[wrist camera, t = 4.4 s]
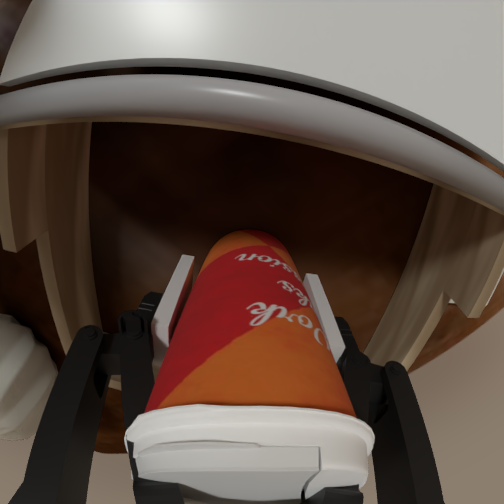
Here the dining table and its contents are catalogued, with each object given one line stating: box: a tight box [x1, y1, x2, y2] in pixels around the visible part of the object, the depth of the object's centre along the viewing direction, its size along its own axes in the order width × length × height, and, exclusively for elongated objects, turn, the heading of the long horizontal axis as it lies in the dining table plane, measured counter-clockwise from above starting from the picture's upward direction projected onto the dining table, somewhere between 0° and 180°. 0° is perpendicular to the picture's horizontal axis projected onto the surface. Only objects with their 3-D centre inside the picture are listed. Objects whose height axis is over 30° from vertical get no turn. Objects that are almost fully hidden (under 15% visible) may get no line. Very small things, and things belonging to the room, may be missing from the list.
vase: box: [0, 313, 58, 441], centre depth 18 cm, size 14×14×13 cm
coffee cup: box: [124, 229, 375, 504], centre depth 13 cm, size 8×8×15 cm
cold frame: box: [0, 116, 504, 390], centre depth 16 cm, size 26×20×8 cm
